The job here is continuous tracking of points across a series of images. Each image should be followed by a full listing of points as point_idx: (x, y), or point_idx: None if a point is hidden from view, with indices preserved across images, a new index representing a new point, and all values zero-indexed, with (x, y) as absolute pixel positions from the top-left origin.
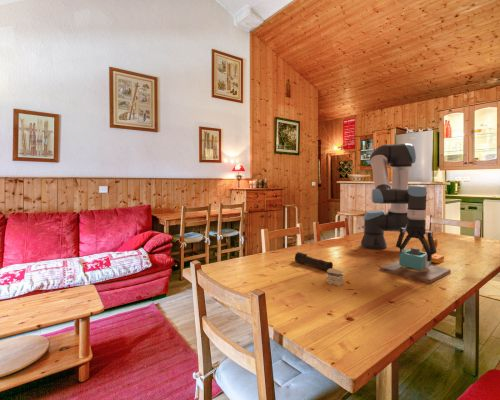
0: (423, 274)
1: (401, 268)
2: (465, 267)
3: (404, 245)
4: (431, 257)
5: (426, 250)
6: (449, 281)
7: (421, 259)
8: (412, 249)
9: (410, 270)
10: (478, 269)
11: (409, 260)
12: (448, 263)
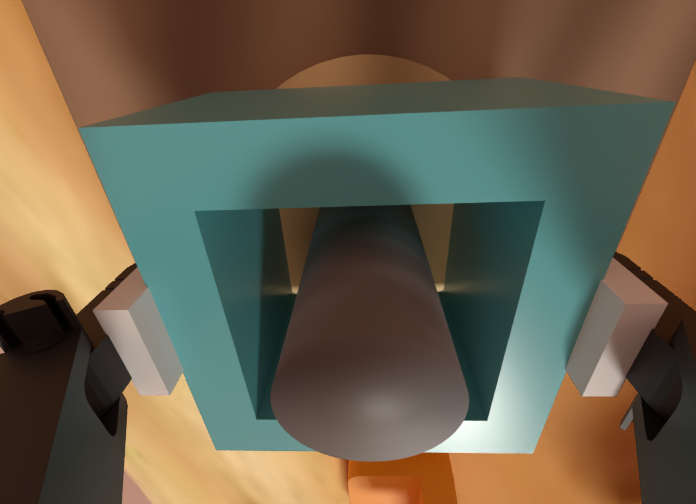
0: (177, 54)
1: (468, 60)
2: (225, 475)
3: (690, 435)
4: (388, 488)
5: (38, 392)
6: (35, 165)
7: (118, 117)
8: (395, 335)
9: (343, 57)
10: (176, 481)
11: (374, 95)
12: (313, 481)
